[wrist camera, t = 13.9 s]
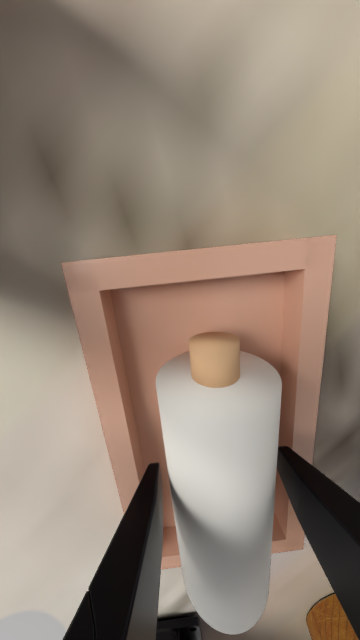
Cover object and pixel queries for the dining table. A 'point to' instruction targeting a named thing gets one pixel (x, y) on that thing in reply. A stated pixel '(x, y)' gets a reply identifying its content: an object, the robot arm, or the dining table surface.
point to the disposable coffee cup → (329, 621)
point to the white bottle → (222, 474)
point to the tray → (194, 318)
